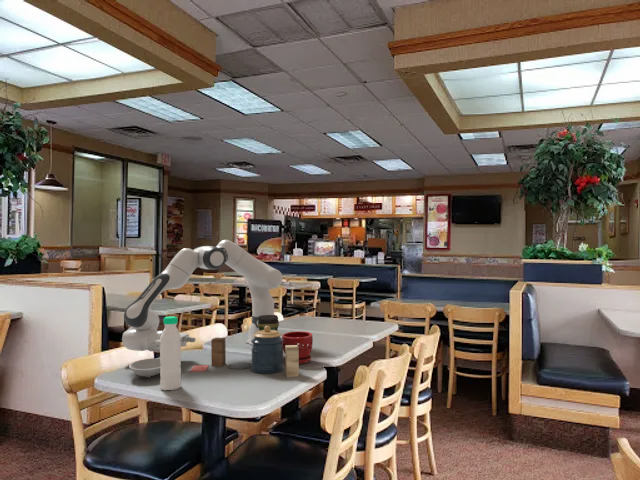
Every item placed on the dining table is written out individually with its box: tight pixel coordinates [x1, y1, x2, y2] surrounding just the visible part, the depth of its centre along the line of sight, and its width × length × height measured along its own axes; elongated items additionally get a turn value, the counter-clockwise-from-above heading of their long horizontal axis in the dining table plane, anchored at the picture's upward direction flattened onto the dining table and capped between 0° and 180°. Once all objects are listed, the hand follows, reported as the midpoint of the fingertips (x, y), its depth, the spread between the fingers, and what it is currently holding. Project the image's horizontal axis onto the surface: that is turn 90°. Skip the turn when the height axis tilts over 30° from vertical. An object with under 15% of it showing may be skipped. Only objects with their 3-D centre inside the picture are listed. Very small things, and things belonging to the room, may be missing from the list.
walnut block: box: [210, 337, 227, 367], centre depth 202 cm, size 4×4×11 cm
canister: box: [250, 326, 285, 374], centre depth 193 cm, size 13×13×18 cm
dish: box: [128, 358, 161, 378], centre depth 184 cm, size 18×14×5 cm
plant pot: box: [281, 331, 314, 365], centre depth 206 cm, size 13×13×12 cm
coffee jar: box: [258, 314, 280, 332], centre depth 217 cm, size 10×8×19 cm
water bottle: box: [159, 315, 182, 391], centre depth 169 cm, size 7×7×25 cm
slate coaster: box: [228, 361, 252, 370], centre depth 199 cm, size 10×10×1 cm
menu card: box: [190, 364, 210, 373], centre depth 195 cm, size 9×6×1 cm, turn 6°
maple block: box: [284, 344, 300, 378], centre depth 185 cm, size 4×4×11 cm
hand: (190, 342), depth 203 cm, fingers open, 8 cm apart
